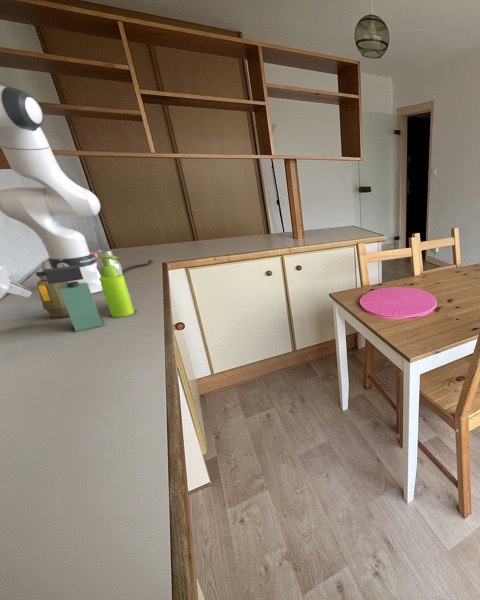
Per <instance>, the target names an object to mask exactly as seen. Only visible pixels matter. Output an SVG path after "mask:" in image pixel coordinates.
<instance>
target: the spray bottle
mask: <svg viewBox="0 0 480 600" xmlns="http://www.w3.org/2000/svg"><path fill="white" fill-rule="evenodd" d="M35 274H36V277H38V278H39V276H46V278H47V281H48V283H49V284H53V283H60V282H67V281H74V280H81V279H83V276H82V273H81V271H80V268H79V265H77V266H68V267H60V268H52V269H44V271H36V272H35ZM59 291H60V293H61V296H62V298H63V301H64V303H65V306H66V309H67V311H68V314H69V316H68V317H69V319H70V321H71V324H72V327H73V329H74V331H75V332H80V331H83V330H89V329H93V328H97V327H98V328H99V327H102V326H103V323H102V320H101V318H100V314H99V312H98V309H97V307H96V303H95V301H94V297H93V295H92V293H91V292H90V289H89V286H88V284H87V282H85V283H78V282H70V283H67V285H65V286H59Z"/></svg>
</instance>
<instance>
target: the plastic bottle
mask: <svg viewBox="0 0 480 600" xmlns="http://www.w3.org/2000/svg"><path fill="white" fill-rule="evenodd" d="M96 254H97V258H98V257H99V256H104V255H112V256H114V253H113V251H112V250H111V249H101V250H97V251H96ZM109 260H110V259H109ZM96 263H97V270H98V272H99V274H100V276H101V277H103V276H104V275H103V272H102V269H101V267H102V266H103V265H104V264H103V261H102V258H98V261H97V262H96ZM110 263H111V264H112V265H115V267H116V270H117V274H122V275H123V276H124V274H123V273H124V272H123V273H122V271H123V266H122V264H121V262H120V261H119V260H118V259H113V260H110ZM128 293H129V296H130V299H131V302H132V303H133V298H132V295H131V293H130V291H128Z"/></svg>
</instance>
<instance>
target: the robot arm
mask: <svg viewBox="0 0 480 600" xmlns="http://www.w3.org/2000/svg"><path fill="white" fill-rule="evenodd" d="M43 122H44V112H43V110H42V107H41V105H40V103H39V102H38V100H36V98H35V97H34V96H32V95H31V94H30V93H29V92H28V91H25V90H22V89H19V88H16V87H13V86H4V85H0V149H1V151H2V153H3V154H4V157H5V158H6V160H7V163H8V165H9V167H10V168H11V170H13V171H14V172H15V173H16V174H18V175H19V176H22V177H23V178H27V179H30V180H33V181H36V182H38V183H39V184H41V185H42V186H43V187H39V186H38V187H35V186H34V187H31V186H30V187H29V186H25V187H23V186H21V187H11V188H5V189H0V212H1V213H2V214H4V215H5V216H7V217H8V218H10V219H13V220H15V221H17V222H20V223H22V224H23V225H25V226H27V227H28V228H29V229H31V230H32V231H33V232H34V233H35V234H36V235H37V236H38V238H39V239H40V240H41V242H42V244H43V246H44V248H45V250H46V253H47V255H48V263H49V264H50V266H51V267H52V268H60V267H68V266H77V265H79V268H80V271H81V273H82V276H83V279H81V280H74V281H68V283H70V282H78V283H85V282H87V284H88V286H89V289H90V292H91V294H96V293H98V292H103V289H102V286H101V283H100V280H99V278H100V277H101V276H100V274H99V272H98V270H97V263H98V262H97V260H96V259H98V253H97V252H90V250H89V249H90V248H89V246H88V243H87V239H86V237H85V236H84V235H83V233H82V232H80V231H77V230H75V229H72V228H68V227H65V226H63V225H61V224H60V223H59V222H58V221H57V220H71V219H73V220H74V219H85V218H90V217H96V216H97V215H98V214H99V212H100V211H101V203H100V200H99V198H98V197H97V195H95V194H94V192H93V191H91V190H89V189H87V188H85V187H82V186H81V185H79V184H77V183H76V182H74V181H73V180H71V178H70V177H68V176H67V174H65V172H64V171H63V170H62V169H61V167H60V165H59V163H58V162H57V159H56V156H55V155H54V153H53V150H52V148H51V146H50V143H49V141H48V139H47V137H46V135H45V133H44V132H43V129H42V128H41V126H42V124H43ZM151 260H152V259H149V260H148V262H150V261H151ZM148 262H146V263H147V264H145V263H141V264H135V265H131V266H128V267H126V268H125V269H122V273H125V272H127V271H129V270H131V269H135V268H140V267H146V266H148V265H150V264H151V263H153V262H154V261H153V260H152V261H151V262H150V263H148ZM13 274H14V273H13V272H12V271H11V270H9V269H7V268H6V267H3V266H1V265H0V299H1V298H2V297H3V296H4V295H5V294H6V293H8V294H12V295H17V296H20V297H23V298H30V296H31V295H32V293H33V290H32V289H31V288H28V287H27V286H23V285H22V284H20V283H18V282H16V281H14V280H12V278H13Z"/></svg>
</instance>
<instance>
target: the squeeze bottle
mask: <svg viewBox="0 0 480 600" xmlns="http://www.w3.org/2000/svg"><path fill="white" fill-rule="evenodd" d="M41 269H42V271H44V269H52V267H51V265H50V263H49V261H47V260H45V261H41ZM42 271H41V272H42ZM38 279H39V280H38V281H37V283H36V284H37V286H38V285H40V284H45V287H46V289H47V292H48V294H49V297H50V300H49V301H44V300H43V298H42V295H41V293H40V291H39V288H38V287H37V289H38V293H39V296H40V300H41V304H42V308H43V309H44V310H45V311H46V312H47V313H49V315H50V316H51V318H65V317H70V316H69V314H68V311H67V309H66V306H65V303H64V301H63V298H62V296H61V293H60V291H59V286H65V285H67V283H68V281H67V282H60V283H53V284H49V283H48V281H47V278H46V276H38Z"/></svg>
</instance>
